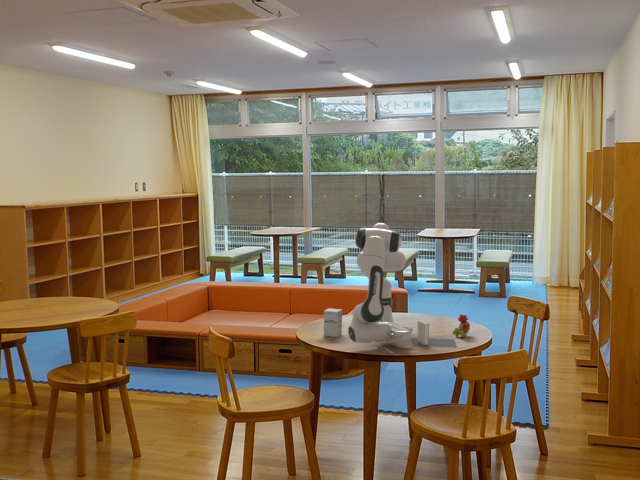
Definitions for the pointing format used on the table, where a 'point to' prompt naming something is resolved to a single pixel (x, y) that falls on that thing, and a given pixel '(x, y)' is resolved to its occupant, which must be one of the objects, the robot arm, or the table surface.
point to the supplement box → (333, 322)
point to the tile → (423, 332)
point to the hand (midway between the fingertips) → (411, 329)
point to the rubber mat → (435, 343)
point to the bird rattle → (462, 326)
